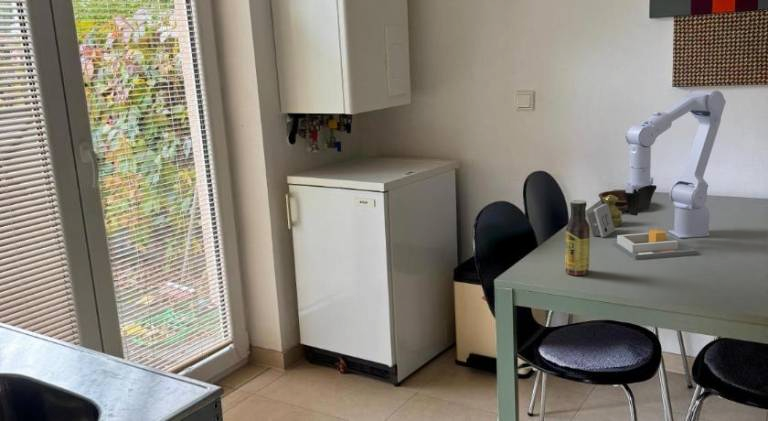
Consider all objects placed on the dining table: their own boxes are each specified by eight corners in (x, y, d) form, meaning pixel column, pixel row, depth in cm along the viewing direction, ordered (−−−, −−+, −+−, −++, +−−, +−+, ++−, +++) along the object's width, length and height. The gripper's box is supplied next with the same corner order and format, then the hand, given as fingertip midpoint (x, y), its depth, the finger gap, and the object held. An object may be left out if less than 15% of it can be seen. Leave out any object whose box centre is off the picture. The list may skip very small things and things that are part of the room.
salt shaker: (597, 227, 235) (597, 197, 233) (599, 221, 242) (600, 192, 240) (621, 228, 233) (621, 198, 230) (622, 222, 239) (623, 193, 237)
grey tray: (670, 239, 217) (671, 228, 216) (697, 254, 201) (697, 242, 200) (612, 244, 215) (612, 233, 215) (635, 259, 200) (635, 247, 199)
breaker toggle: (658, 242, 210) (658, 228, 209) (665, 246, 206) (666, 232, 205) (648, 243, 210) (649, 229, 209) (655, 247, 206) (655, 233, 205)
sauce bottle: (561, 270, 195) (561, 199, 190) (584, 268, 195) (584, 197, 191) (570, 277, 188) (570, 204, 184) (593, 275, 189) (593, 202, 184)
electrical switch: (603, 238, 222) (601, 209, 220) (587, 238, 225) (585, 209, 224) (615, 231, 229) (612, 203, 228) (599, 231, 232) (597, 203, 231)
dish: (592, 213, 254) (592, 200, 253) (605, 200, 273) (605, 187, 272) (643, 216, 246) (644, 202, 245) (653, 202, 264) (653, 189, 263)
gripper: (637, 161, 216) (636, 205, 219) (615, 170, 206) (615, 215, 209) (660, 163, 212) (659, 208, 215) (639, 172, 201) (638, 218, 205)
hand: (639, 212), depth 212 cm, fingers open, 7 cm apart
